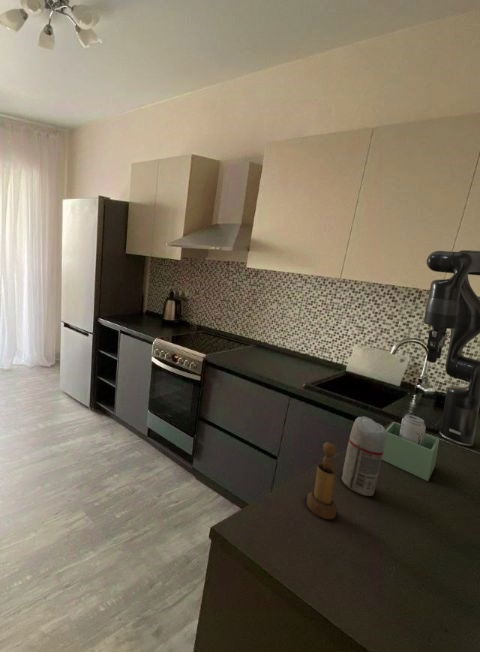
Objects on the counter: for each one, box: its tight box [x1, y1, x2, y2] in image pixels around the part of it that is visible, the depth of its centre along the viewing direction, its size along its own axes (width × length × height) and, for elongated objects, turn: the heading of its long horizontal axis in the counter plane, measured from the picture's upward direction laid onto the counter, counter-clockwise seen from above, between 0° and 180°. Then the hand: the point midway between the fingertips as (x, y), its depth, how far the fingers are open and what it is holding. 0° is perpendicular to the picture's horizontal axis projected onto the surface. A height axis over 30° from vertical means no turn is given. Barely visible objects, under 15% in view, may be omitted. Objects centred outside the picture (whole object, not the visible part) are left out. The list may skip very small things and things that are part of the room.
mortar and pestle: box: [306, 441, 338, 520], centre depth 86 cm, size 7×6×18 cm
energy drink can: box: [399, 413, 427, 446], centre depth 111 cm, size 6×6×15 cm
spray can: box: [340, 416, 386, 497], centre depth 96 cm, size 8×8×20 cm
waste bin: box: [381, 421, 440, 482], centre depth 111 cm, size 12×12×10 cm
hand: (433, 359), depth 109 cm, fingers open, 8 cm apart
